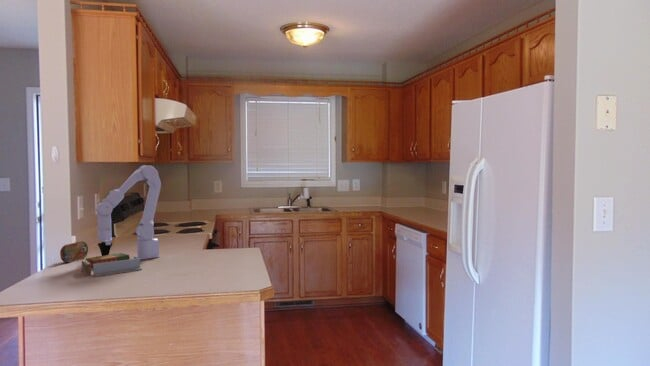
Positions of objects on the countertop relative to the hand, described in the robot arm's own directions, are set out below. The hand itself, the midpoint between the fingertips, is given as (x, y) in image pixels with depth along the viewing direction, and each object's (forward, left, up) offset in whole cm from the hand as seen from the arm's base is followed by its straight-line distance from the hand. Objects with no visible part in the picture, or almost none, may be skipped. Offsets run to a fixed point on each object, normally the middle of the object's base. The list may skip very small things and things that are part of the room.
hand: (105, 258), depth 206 cm
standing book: (+11, +17, -2) cm, 20 cm away
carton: (0, +6, -2) cm, 6 cm away
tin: (+10, -13, -2) cm, 17 cm away
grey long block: (0, +23, -2) cm, 23 cm away
